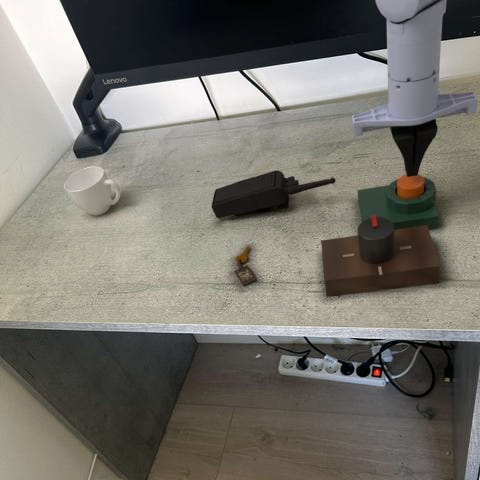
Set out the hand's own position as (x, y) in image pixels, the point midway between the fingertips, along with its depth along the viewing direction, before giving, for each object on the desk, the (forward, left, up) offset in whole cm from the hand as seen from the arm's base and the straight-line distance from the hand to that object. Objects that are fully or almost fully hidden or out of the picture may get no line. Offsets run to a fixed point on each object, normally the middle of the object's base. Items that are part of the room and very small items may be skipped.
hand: (411, 172), depth 67 cm
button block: (+2, 0, -7) cm, 7 cm away
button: (0, 0, -3) cm, 3 cm away
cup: (+53, -15, -7) cm, 56 cm away
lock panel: (+6, +11, -7) cm, 14 cm away
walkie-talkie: (+20, -7, -7) cm, 22 cm away
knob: (+6, +11, -4) cm, 13 cm away
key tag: (+24, +7, -7) cm, 26 cm away
